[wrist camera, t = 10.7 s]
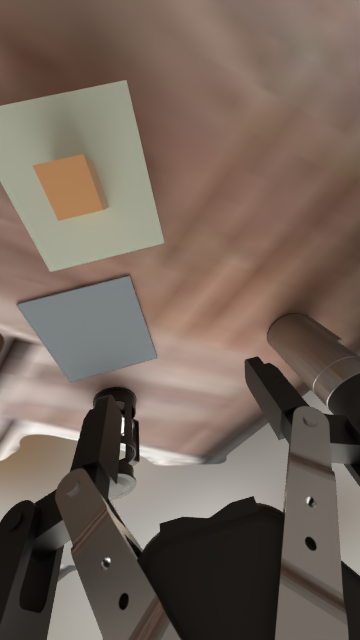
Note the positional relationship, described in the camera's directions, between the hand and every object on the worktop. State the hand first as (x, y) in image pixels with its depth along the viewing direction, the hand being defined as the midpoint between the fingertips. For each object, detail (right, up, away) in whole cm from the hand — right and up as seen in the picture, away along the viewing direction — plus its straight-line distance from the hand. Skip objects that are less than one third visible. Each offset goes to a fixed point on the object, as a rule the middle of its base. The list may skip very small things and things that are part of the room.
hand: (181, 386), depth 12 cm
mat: (-15, +1, +26) cm, 30 cm away
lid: (-10, +18, +10) cm, 23 cm away
